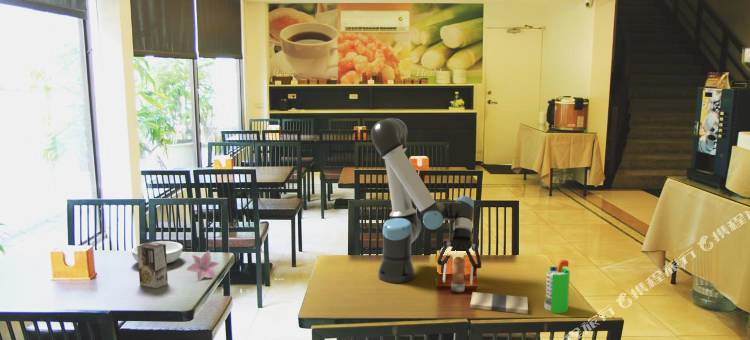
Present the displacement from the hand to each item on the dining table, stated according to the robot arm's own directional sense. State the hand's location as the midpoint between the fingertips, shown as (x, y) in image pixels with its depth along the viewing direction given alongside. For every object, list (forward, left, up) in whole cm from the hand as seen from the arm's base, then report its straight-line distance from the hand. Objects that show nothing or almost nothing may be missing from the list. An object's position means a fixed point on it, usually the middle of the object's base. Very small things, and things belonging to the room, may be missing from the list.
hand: (457, 282), depth 220 cm
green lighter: (+36, -6, -4) cm, 37 cm away
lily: (-102, -10, -4) cm, 103 cm away
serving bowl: (-131, +2, -4) cm, 131 cm away
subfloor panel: (+16, -8, -4) cm, 18 cm away
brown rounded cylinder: (0, +3, -4) cm, 5 cm away
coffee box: (-117, -22, -4) cm, 119 cm away
